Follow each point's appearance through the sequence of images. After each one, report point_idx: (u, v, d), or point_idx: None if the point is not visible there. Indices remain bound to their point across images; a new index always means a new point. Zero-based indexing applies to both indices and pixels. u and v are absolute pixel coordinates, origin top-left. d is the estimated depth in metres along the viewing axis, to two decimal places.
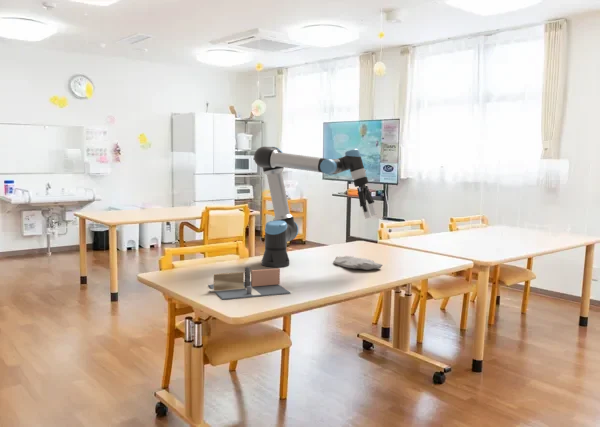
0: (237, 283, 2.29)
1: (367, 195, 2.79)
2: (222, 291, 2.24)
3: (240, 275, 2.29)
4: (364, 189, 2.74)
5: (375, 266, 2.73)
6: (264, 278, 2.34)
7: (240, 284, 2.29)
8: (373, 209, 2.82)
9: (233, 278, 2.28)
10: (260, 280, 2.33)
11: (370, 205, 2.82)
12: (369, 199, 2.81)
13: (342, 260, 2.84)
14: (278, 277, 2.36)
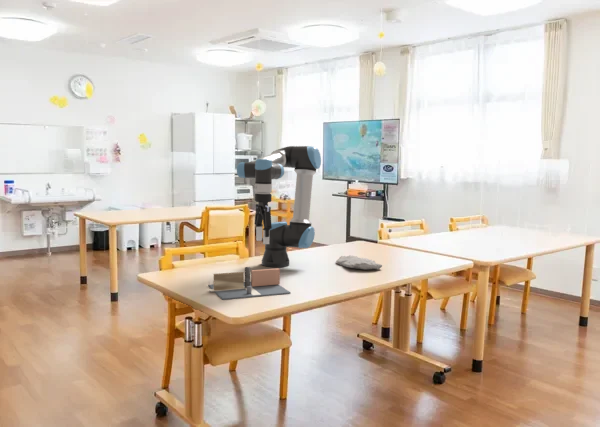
0: (237, 283, 2.29)
1: None
2: (222, 291, 2.24)
3: (240, 275, 2.29)
4: None
5: (373, 266, 2.72)
6: (264, 278, 2.34)
7: (240, 284, 2.29)
8: None
9: (233, 278, 2.28)
10: (260, 280, 2.33)
11: None
12: None
13: (343, 259, 2.86)
14: (278, 277, 2.36)
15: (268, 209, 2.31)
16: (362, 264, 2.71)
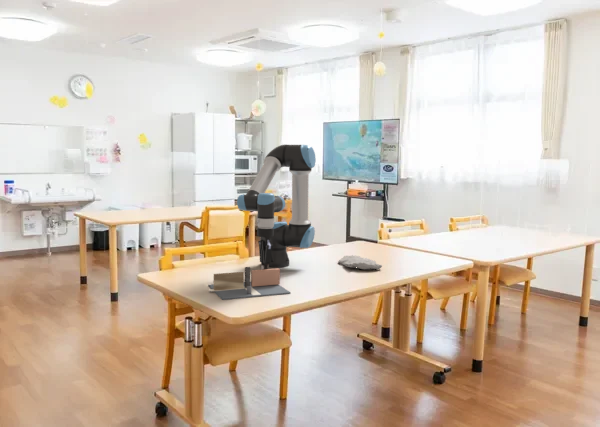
0: (237, 283, 2.29)
1: None
2: (222, 291, 2.24)
3: (240, 275, 2.29)
4: None
5: (372, 266, 2.72)
6: (264, 278, 2.34)
7: (240, 284, 2.29)
8: None
9: (233, 278, 2.28)
10: (260, 280, 2.33)
11: None
12: None
13: (345, 259, 2.87)
14: (278, 277, 2.36)
15: (270, 247, 2.31)
16: (360, 264, 2.71)
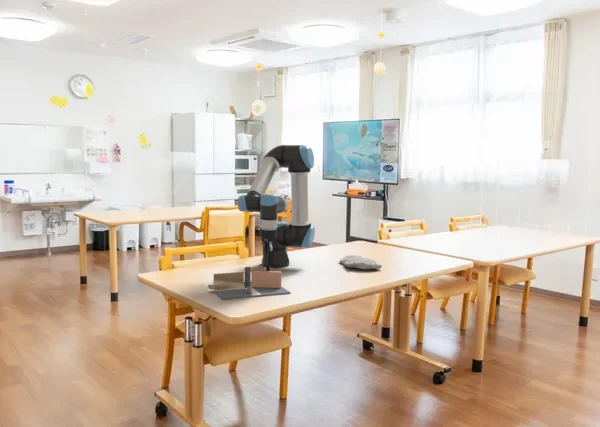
0: (237, 283, 2.29)
1: None
2: (222, 291, 2.24)
3: (240, 275, 2.29)
4: None
5: (372, 266, 2.72)
6: (264, 280, 2.30)
7: (240, 284, 2.29)
8: None
9: (233, 278, 2.28)
10: (260, 281, 2.31)
11: None
12: None
13: (346, 259, 2.88)
14: (279, 280, 2.30)
15: (271, 249, 2.27)
16: (360, 264, 2.72)
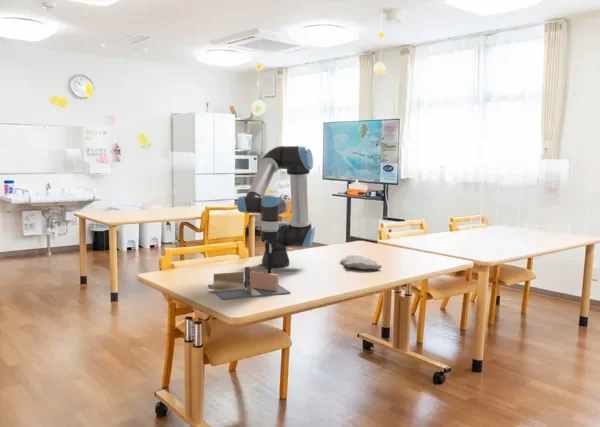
0: (237, 283, 2.29)
1: None
2: (222, 291, 2.24)
3: (240, 275, 2.29)
4: None
5: (371, 266, 2.72)
6: (261, 281, 2.27)
7: (240, 284, 2.29)
8: None
9: (233, 278, 2.28)
10: (257, 283, 2.28)
11: None
12: None
13: (346, 259, 2.88)
14: (275, 283, 2.25)
15: (270, 251, 2.23)
16: (359, 264, 2.72)
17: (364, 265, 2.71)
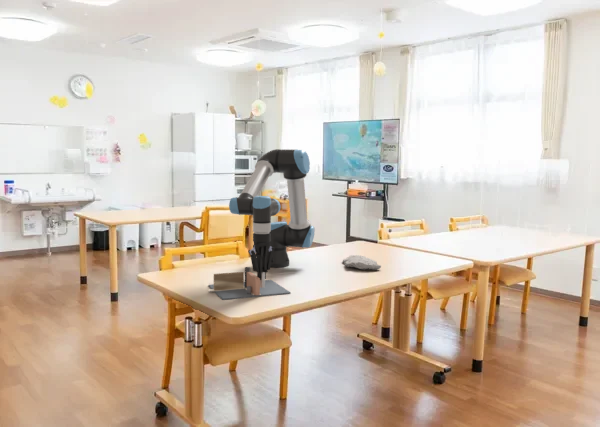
0: (237, 283, 2.29)
1: None
2: (222, 291, 2.24)
3: (240, 275, 2.29)
4: None
5: (370, 266, 2.72)
6: (250, 283, 2.24)
7: (240, 284, 2.29)
8: None
9: (233, 278, 2.28)
10: (249, 284, 2.26)
11: None
12: None
13: (348, 258, 2.89)
14: (255, 287, 2.18)
15: (251, 253, 2.18)
16: (358, 263, 2.72)
17: (363, 265, 2.72)
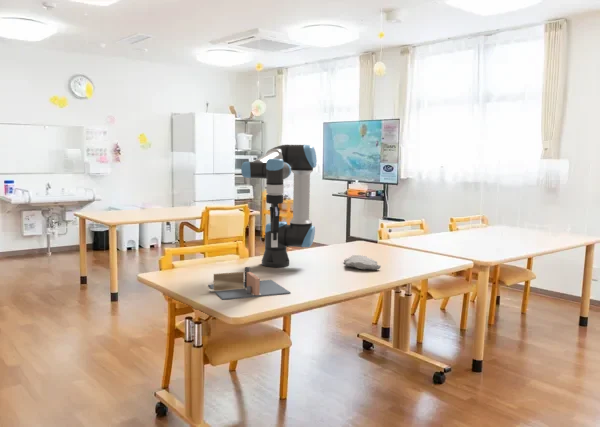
0: (237, 283, 2.29)
1: None
2: (222, 291, 2.24)
3: (240, 275, 2.29)
4: (271, 209, 2.31)
5: (369, 266, 2.72)
6: (250, 283, 2.24)
7: (240, 284, 2.29)
8: None
9: (233, 278, 2.28)
10: (249, 284, 2.26)
11: None
12: None
13: (349, 258, 2.90)
14: (255, 287, 2.18)
15: (277, 214, 2.24)
16: (357, 263, 2.73)
17: (362, 265, 2.72)
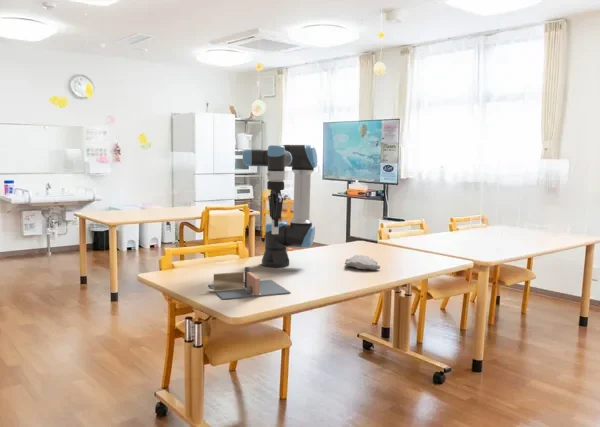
0: (237, 283, 2.29)
1: None
2: (222, 291, 2.24)
3: (240, 275, 2.29)
4: None
5: (368, 266, 2.72)
6: (250, 283, 2.24)
7: (240, 284, 2.29)
8: None
9: (233, 278, 2.28)
10: (249, 284, 2.26)
11: None
12: None
13: (350, 258, 2.90)
14: (255, 287, 2.18)
15: (280, 200, 2.25)
16: (356, 263, 2.73)
17: (361, 265, 2.72)
